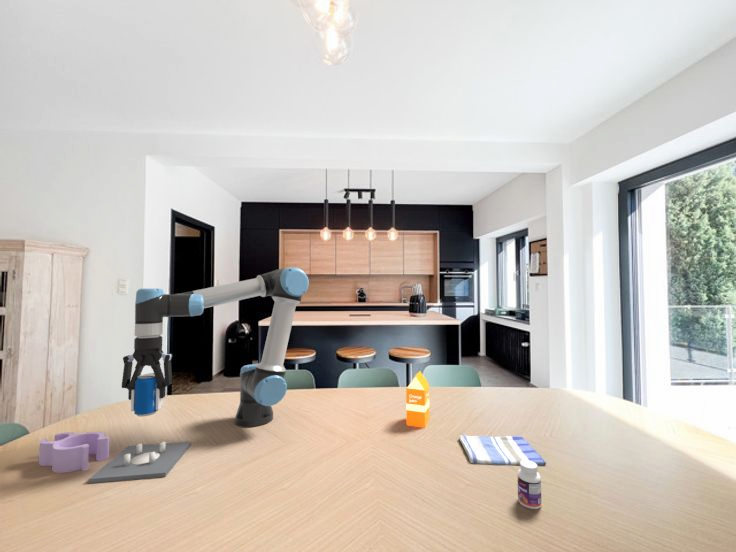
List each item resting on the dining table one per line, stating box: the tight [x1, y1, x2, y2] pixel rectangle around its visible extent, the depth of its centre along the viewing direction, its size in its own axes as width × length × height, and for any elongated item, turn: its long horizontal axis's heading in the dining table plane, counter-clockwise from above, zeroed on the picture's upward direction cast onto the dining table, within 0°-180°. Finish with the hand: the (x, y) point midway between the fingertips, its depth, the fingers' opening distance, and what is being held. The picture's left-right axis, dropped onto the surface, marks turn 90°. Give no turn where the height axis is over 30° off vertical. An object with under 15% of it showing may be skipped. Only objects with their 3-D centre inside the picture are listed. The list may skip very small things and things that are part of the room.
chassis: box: [88, 441, 192, 484], centre depth 104 cm, size 20×20×4 cm
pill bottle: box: [516, 460, 542, 510], centre depth 84 cm, size 5×5×10 cm
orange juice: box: [405, 370, 430, 429], centre depth 135 cm, size 8×9×20 cm
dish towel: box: [457, 434, 547, 466], centre depth 110 cm, size 17×24×3 cm
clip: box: [38, 431, 111, 474], centre depth 105 cm, size 20×12×7 cm, turn 78°
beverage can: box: [133, 372, 159, 418], centre depth 105 cm, size 6×6×12 cm
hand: (146, 408), depth 105 cm, fingers closed on beverage can, 6 cm apart
